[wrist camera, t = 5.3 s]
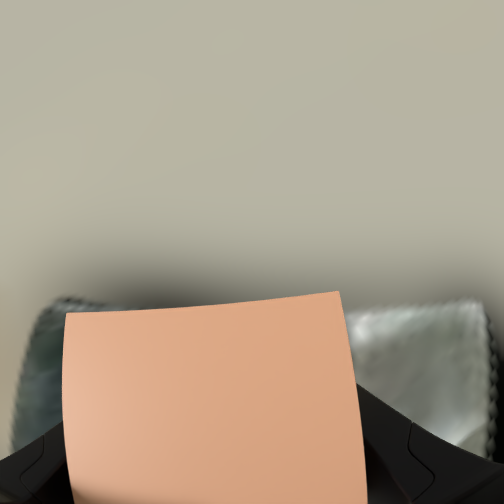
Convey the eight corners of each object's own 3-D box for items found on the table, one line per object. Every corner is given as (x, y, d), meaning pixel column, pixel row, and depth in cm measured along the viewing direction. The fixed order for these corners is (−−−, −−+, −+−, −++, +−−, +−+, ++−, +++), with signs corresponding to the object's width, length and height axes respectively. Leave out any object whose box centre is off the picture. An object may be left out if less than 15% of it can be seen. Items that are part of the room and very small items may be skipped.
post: (298, 454, 12) (367, 555, 2) (201, 461, 12) (87, 548, 2) (288, 365, 14) (338, 290, 5) (194, 373, 14) (66, 312, 5)
